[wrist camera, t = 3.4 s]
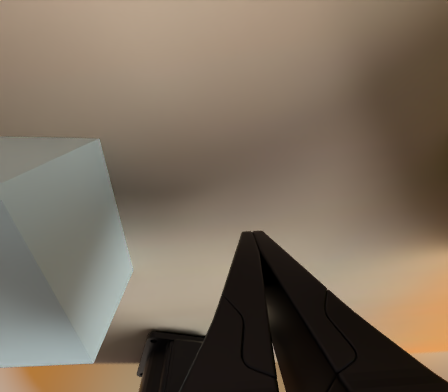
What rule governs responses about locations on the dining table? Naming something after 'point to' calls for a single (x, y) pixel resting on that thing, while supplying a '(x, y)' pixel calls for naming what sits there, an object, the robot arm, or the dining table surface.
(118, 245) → the block
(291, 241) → the dining table surface
